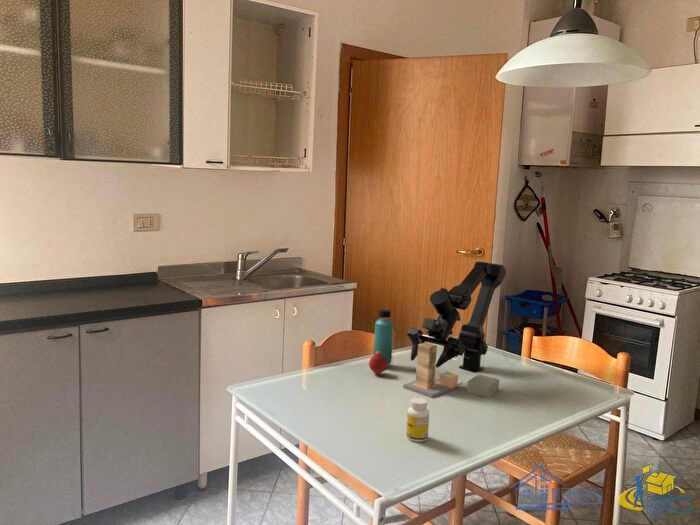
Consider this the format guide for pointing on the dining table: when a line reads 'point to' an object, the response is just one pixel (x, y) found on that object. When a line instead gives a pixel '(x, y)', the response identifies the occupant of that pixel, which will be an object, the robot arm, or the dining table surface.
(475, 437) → the dining table surface
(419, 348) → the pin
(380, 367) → the onion
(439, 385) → the board
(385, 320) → the beverage bottle
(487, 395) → the cover
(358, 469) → the dining table surface
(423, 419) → the supplement bottle
